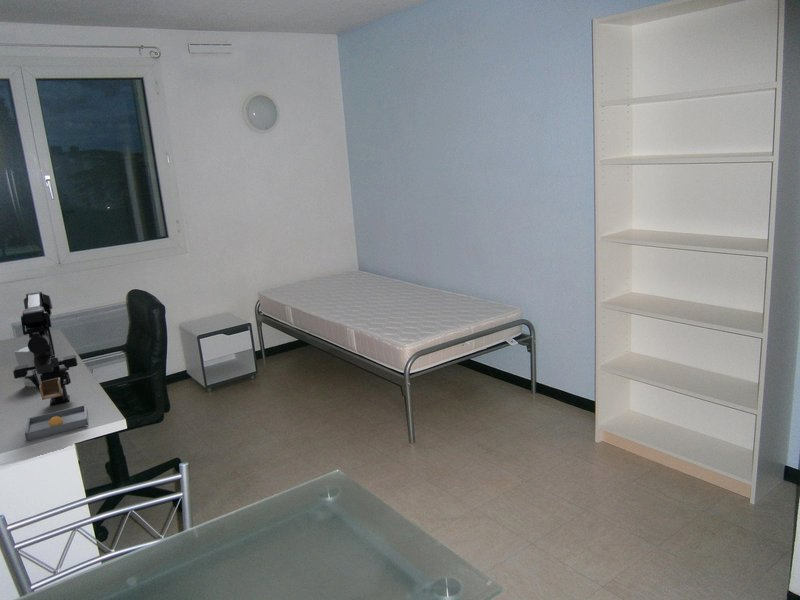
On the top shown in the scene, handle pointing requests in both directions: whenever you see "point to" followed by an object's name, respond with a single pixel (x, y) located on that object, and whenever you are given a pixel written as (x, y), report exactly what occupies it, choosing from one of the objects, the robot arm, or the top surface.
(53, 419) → the ball
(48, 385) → the scoop
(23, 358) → the skincare box
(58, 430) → the tray
